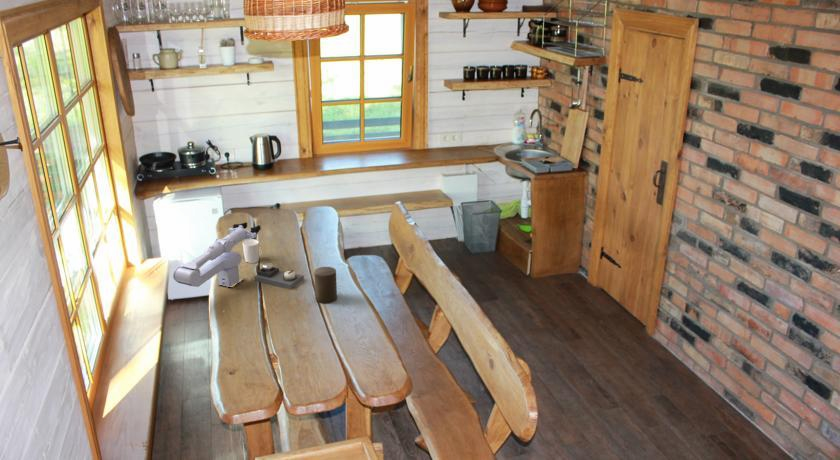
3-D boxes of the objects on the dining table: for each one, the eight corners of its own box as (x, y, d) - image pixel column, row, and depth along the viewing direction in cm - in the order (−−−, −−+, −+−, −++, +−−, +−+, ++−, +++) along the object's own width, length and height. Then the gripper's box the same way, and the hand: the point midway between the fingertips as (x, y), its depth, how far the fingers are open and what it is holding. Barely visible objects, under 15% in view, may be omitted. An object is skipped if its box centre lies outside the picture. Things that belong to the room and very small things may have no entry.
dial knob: (291, 280, 327) (291, 275, 326) (282, 278, 329) (281, 273, 328) (297, 275, 331) (297, 271, 330) (288, 273, 333) (288, 269, 332)
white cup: (262, 258, 357) (260, 239, 353) (257, 264, 349) (255, 245, 346) (246, 257, 357) (245, 238, 354) (241, 263, 350) (240, 245, 346)
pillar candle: (333, 304, 312) (332, 273, 307) (312, 302, 314) (310, 271, 308) (339, 295, 321) (339, 264, 315) (319, 292, 323) (318, 262, 317)
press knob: (269, 271, 331) (268, 267, 330) (261, 269, 332) (261, 265, 332) (274, 267, 335) (274, 263, 334) (266, 266, 336) (266, 262, 335)
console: (290, 289, 325) (290, 280, 323) (254, 281, 332) (254, 272, 330) (303, 280, 334) (303, 271, 332) (268, 272, 342) (267, 263, 340)
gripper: (247, 232, 323) (264, 220, 334) (221, 227, 329) (239, 215, 340) (249, 246, 326) (266, 234, 338) (223, 240, 332) (241, 228, 343)
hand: (253, 225), depth 339 cm, fingers open, 7 cm apart
